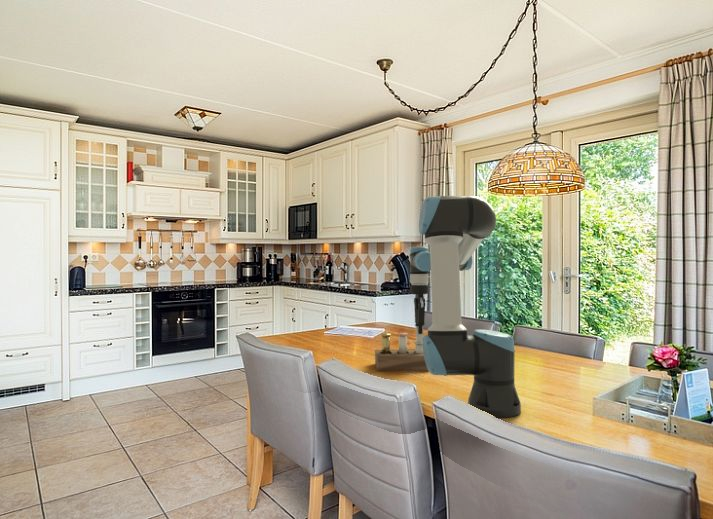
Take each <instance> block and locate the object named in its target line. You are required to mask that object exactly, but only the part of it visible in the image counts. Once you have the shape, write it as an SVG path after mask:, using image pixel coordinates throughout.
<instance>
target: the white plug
mask: <svg viewBox="0 0 713 519" xmlns="http://www.w3.org/2000/svg"><path fill="white" fill-rule="evenodd" d="M397 336H398V349H399V354H407V349H408V336H409V333H408V332H397Z"/></svg>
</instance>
